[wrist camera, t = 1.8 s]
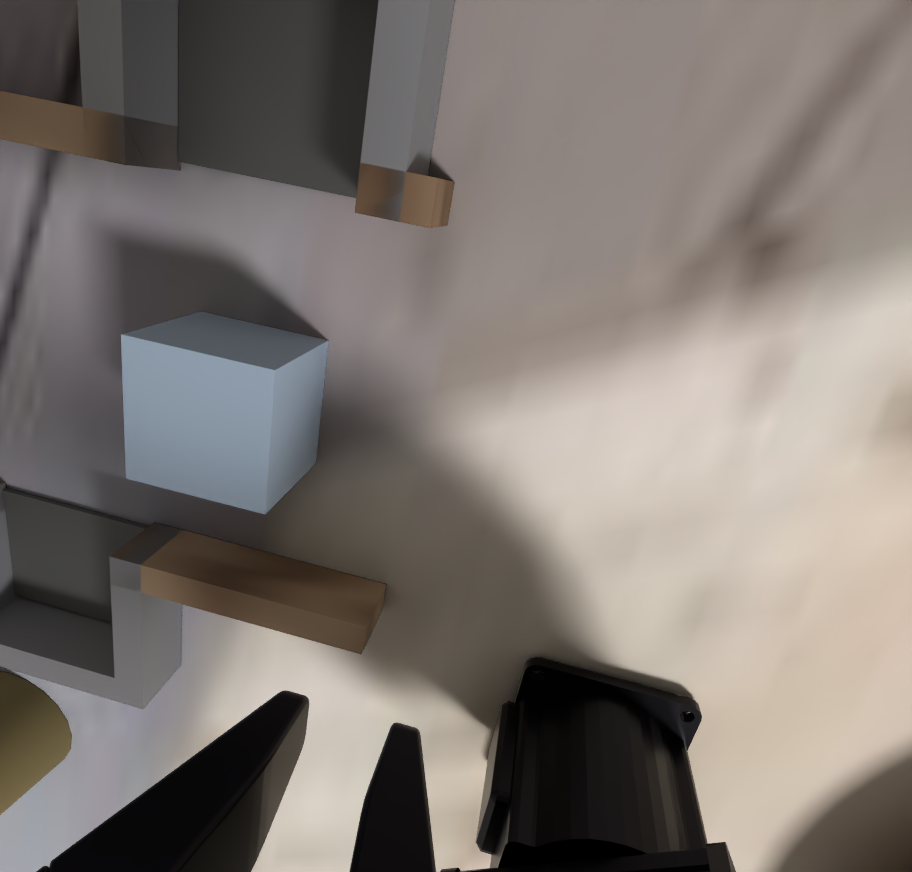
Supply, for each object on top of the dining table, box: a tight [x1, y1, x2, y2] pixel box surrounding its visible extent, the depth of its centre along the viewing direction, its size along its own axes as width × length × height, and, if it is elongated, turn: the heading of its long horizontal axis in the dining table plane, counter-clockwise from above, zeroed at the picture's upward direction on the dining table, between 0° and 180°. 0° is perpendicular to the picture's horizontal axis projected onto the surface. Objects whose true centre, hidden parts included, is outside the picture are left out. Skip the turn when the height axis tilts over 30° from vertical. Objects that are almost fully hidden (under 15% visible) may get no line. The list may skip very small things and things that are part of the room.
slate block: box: [121, 312, 329, 514], centre depth 19 cm, size 4×4×4 cm
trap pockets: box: [0, 0, 455, 709], centre depth 20 cm, size 16×27×2 cm, turn 170°
